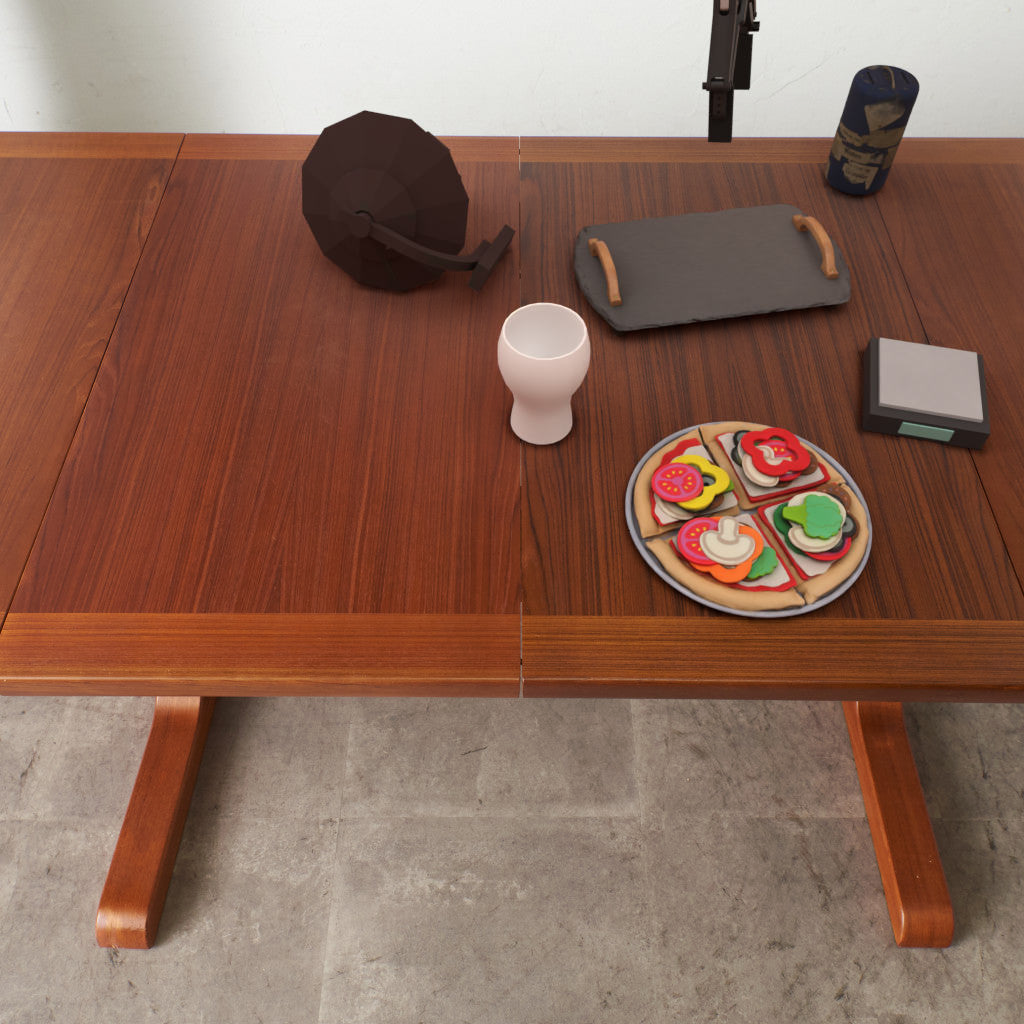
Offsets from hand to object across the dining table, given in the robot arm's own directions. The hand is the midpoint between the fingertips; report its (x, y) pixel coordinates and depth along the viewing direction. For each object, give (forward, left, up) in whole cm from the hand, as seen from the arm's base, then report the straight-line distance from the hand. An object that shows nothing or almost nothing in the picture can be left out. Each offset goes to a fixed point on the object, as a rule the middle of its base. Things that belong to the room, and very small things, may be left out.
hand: (729, 114), depth 111 cm
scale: (-30, +19, -24) cm, 43 cm away
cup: (+16, +34, -24) cm, 45 cm away
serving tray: (-1, +1, -24) cm, 24 cm away
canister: (-21, -28, -24) cm, 42 cm away
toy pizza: (-10, +43, -24) cm, 51 cm away
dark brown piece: (+40, +6, -24) cm, 47 cm away
